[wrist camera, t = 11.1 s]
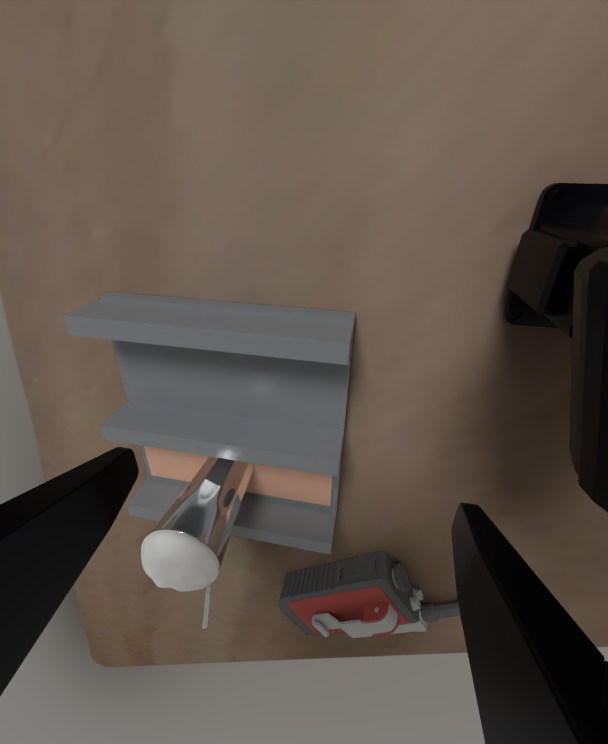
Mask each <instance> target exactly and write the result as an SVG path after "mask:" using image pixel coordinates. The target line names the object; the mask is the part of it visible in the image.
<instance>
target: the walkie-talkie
mask: <svg viewBox="0 0 608 744" xmlns="http://www.w3.org/2000/svg"><path fill="white" fill-rule="evenodd" d="M420 600H423V594H422V591H421V590H420V589H414V587H413V586H412V585H411V584H410V582H409V577H408V574H407V571H406V569H405V567H404V566H403V565H402V564H401V563H396V564H395V563H394V562H393V561H392V559H391V558H390V557H389V556H388V554H387V553H385V552H376V553H372V554H367V555H363V556H358V557H354V558H350V559H345V560H341V561H338V562H333V563H331V564H330V563H328V564H327V565H325V564H323V565H322V566H320V565H319V566H318V567H315V566H314V567H313V568H308V569H304V570H299V571H295V572H290V573H287V574H286V577H285V581H284V585H283V589H282V593H281V597H280V601H279V607H280V609H281V610H282V612H283V613H284V614H285V615H286V616H287V617H288V618H289V619H290V620H291V621H293V622H294V623H295V624H296V625H297V626H298V627H299V628H300V629H301V630H302V631H303V632H304V633H305V634H306V635H323V636H324V637H328V636H329V634H332V633H340V632H346V633H347V634H348V635H349V636H351V637H352V638H361V637H369V636H372V634H376V635H388V634H396V633H405V632H413V631H417V632H425V631H427V630H428V627H427V622H431V621H437V620H438V618H444V617H452V616H460V610H459V605H458V601H455V602H448V603H441V604H435V605H434V604H433V603H428V604H421V603H420Z"/></svg>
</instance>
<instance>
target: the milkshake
mask: <svg viewBox="0 0 608 744" xmlns="http://www.w3.org/2000/svg"><path fill="white" fill-rule="evenodd" d="M252 470H253V463H248V462H242V461H236V460H230V459H223V458H217V457H211V456H209V458H208V459H207V460H206V462H205V463H204V464H203V466H202V467H201V468H200V470H199V471H198V472H197V474H196V475H195V476H194V478H193V479H192V480H191V482H190V483H189V484H188V486H187V487H186V488H185V490H184V491H183V492H182V493H181V495H180V496H179V497H178V498H177V500H176V501H175V502H174V503H173V504H172V506H171V507H170V508H169V509H168V510H167V512H166V513H165V514H164V515H163V517H162V518H161V519H160V520H159V522H158V523H157V524H156V525H155V527H154V528H153V529H152V530H151V532H150V533H149V534H148V535H147V537H146V538H145V539H144V541H143V543H142V546H141V559H142V565H143V568H144V570H145V572H146V574H147V575H148V576H149V577H151V578H152V580H153V581H154V583H155V584H156V585H157V586H158V587H160V588H173V589H175V590H178V591H181V592H187V591H192V590H199V589H202V588H205V587H206V594H205V605H204V615H203V626H202V629H205V628H207V627H208V618H209V606H210V595H211V583H212V582H214V581H215V579H216V578H217V576H218V574H219V570H220V567H221V564H222V560H223V557H224V554H225V551H226V548H227V544H228V541H229V538H230V535H231V532H232V528H233V525H234V522H235V520H236V517H237V514H238V511H239V508H240V505H241V502H242V499H243V496H244V494H245V491H246V488H247V485H248V482H249V479H250V476H251V473H252Z"/></svg>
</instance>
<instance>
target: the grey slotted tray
mask: <svg viewBox="0 0 608 744" xmlns="http://www.w3.org/2000/svg"><path fill="white" fill-rule="evenodd" d="M99 297H100V300H98V301H96V302H93V303H91V304H88V305H86V306H84V307H81V308H79V309H77V310H74V311H72V312H70V313H67V314H65V315H63V318H64V321H65V324H66V327H67V330H68V333H69V335H71V336H81V337H90V338H99V339H109V340H111V341H112V344H113V348H114V352H115V355H116V359H117V363H118V366H119V370H120V374H121V377H122V381H123V384H124V388H125V392H126V395H127V399H128V401H127V402H126V403H125V404H124V405H123V406H122V407H120V408H119V409H118V410H117V411H116V412H115V413H114V414H112V415H111V416H110V417H109V418H108V419H107V420H105V421H104V422H103V423H102V424H101V425H100V428H101V431H102V434H103V437H104V440H110V441H117V442H123V443H129V444H135V445H140V446H141V450H142V454H143V457H144V461H145V465H146V468H147V472H148V476H149V477H148V478H147V479H146V481H145V482H144V483H143V484H142V486H141V487H140V488H139V490H138V491H137V492H136V493H135V495H134V496H133V497H132V498H131V500H130V501H129V502H128V503H127V508H128V511H129V514H130V515H131V516H136V517H141V518H146V519H151V520H156V521H159V520H160V519H161V518H162V517H163V515H164V514H165V513H166V512H167V510H168V509H169V508H170V507H171V506H172V504H173V503H174V502H175V501H176V500H177V498H178V497H179V496H180V495H181V493H182V492H183V491H184V490H185V488H186V487H187V486H188V484H189V483H190V482H191V480H192V479H193V478H194V476H195V475H196V474H197V472H198V471H199V470H200V468H201V467H202V466H203V464H204V463H205V462H206V460H207V459H208V458H209V456H211V457H217V458H223V459H230V460H236V461H242V462H248V463H253V470H252V473H251V476H250V479H249V482H248V485H247V488H246V491H245V494H244V496H243V499H242V502H241V505H240V508H239V511H238V514H237V517H236V520H235V522H234V525H233V528H232V532H231V535H232V536H238V537H243V538H248V539H253V540H258V541H263V542H268V543H273V544H278V545H283V546H288V547H294V548H299V549H304V550H309V551H314V552H319V553H324V554H329V555H331V549H332V542H333V535H334V528H335V521H336V514H337V504H338V494H339V483H340V473H341V462H342V452H343V441H344V431H345V420H346V410H347V399H348V389H349V378H350V368H351V357H352V346H353V336H354V325H355V315H356V312H347V311H334V310H322V309H310V308H298V307H286V306H274V305H261V304H249V303H237V302H225V301H213V300H201V299H189V298H176V297H164V296H152V295H140V294H128V293H116V292H109V293H107V294H104V295H102V296H99Z"/></svg>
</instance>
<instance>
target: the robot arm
mask: <svg viewBox="0 0 608 744" xmlns="http://www.w3.org/2000/svg"><path fill="white" fill-rule="evenodd" d="M555 190H558V192H559V197H558V198H557V200H555V201H554V202H551V200H550V195H551V193H552V192H553V191H555ZM507 286H508V287H509V289H510V290H511V291H510V295H509V298H508V301H507V304H506V307H505V311H504V317H505V319H506V320H507V321H508V322H509V323H510V324H514V325H527V326H539V327H551V328H560V329H561V330H562V331H563V332H565V333H566V334H567V335H568V336H569V337H570V338H572V373H571V410H570V448H569V451H570V454H571V458H572V462H573V465H574V469H575V471H576V473H577V474H578V483H579V485H580V487H581V488H582V489H583V490H584V491H585V492H586V493H587V495H588V496H589V497H590V498H591V499H592V500H593V501H594V502H595V503H596V504H597V505H599V506H600V507H601V508H603V509H604V510H605V511H607V512H608V184H577V183H554V184H551V185H549V186H547V187H546V188H545V189H544V190H543V191H542V193H541V195H540V198H539V202H538V205H537V208H536V211H535V215H534V218H533V221H532V224H531V227H530V229H529V230H527V231H526V232H525V233H523V234H522V237H521V240H520V244H519V247H518V250H517V253H516V257H515V260H514V263H513V267H512V270H511V273H510V276H509V280H508V283H507ZM515 311H520V313H519V315H518V316H517V317H511V315H512V313H513V312H515ZM138 473H139V469H138V465H137V461H136V458H135V455H134V452H133V450H132V449H129V448H123V447H117V448H114V449H112V450H110V451H108V452H106V453H104V454H102V455H100V456H98V457H96V458H94V459H92V460H90V461H88V462H86V463H84V464H82V465H80V466H78V467H76V468H74V469H72V470H70V471H67V472H65V473H63V474H61V475H59V476H57V477H55V478H53V479H51V480H49V481H47V482H45V483H43V484H41V485H39V486H37V487H35V488H33V489H31V490H29V491H27V492H25V493H23V494H21V495H19V496H17V497H15V498H12V499H10V500H9V501H6V502H5V503H2V504H0V696H1V694H2V693H3V691H4V690H5V688H6V687H7V685H8V683H9V682H10V681H11V679H12V678H13V676H14V675H15V673H16V671H17V670H18V668H19V667H20V665H21V664H22V662H23V661H24V659H25V658H26V656H27V655H28V653H29V652H30V650H31V649H32V647H33V646H34V644H35V643H36V641H37V639H38V638H39V636H40V635H41V633H42V632H43V630H44V629H45V627H46V626H47V624H48V623H49V621H50V620H51V618H52V617H53V615H54V613H55V612H56V610H57V609H58V607H59V605H60V604H61V603H62V601H63V600H64V598H65V597H66V595H67V594H68V592H69V591H70V589H71V588H72V586H73V585H74V583H75V581H76V580H77V578H78V577H79V575H80V574H81V572H82V571H83V569H84V568H85V566H86V565H87V563H88V562H89V560H90V559H91V557H92V555H93V554H94V552H95V551H96V549H97V548H98V546H99V545H100V543H101V542H102V540H103V539H104V537H105V536H106V534H107V532H108V531H109V529H110V528H111V526H112V524H113V522H114V521H115V519H116V517H117V515H118V513H119V511H120V510H121V508H122V506H123V504H124V502H125V500H126V498H127V496H128V494H129V493H130V491H131V489H132V487H133V485H134V483H135V481H136V479H137V477H138ZM452 542H453V555H454V567H455V579H456V590H457V599H458V605H459V610H460V615H461V621H462V626H463V631H464V636H465V641H466V646H467V652H468V657H469V662H470V667H471V672H472V677H473V682H474V688H475V692H476V698H477V703H478V708H479V714H480V719H481V723H482V729H483V734H484V739H485V744H608V662H607V661H604V656H603V655H602V654H601V653H600V652H599V650H598V649H597V648H596V647H595V645H594V644H593V643H592V642H591V641H590V639H589V638H588V637H587V636H586V634H585V633H584V632H583V631H582V630H581V628H580V627H579V626H578V625H577V624H576V622H575V621H574V620H573V619H572V618H571V616H570V615H569V614H568V613H567V612H566V610H565V609H564V608H563V607H562V605H561V604H560V603H559V602H558V601H557V599H556V598H555V597H554V596H553V595H552V593H551V592H550V591H549V590H548V589H547V587H546V586H545V585H544V584H543V582H542V581H541V580H540V579H539V578H538V576H537V575H536V574H535V573H534V572H533V570H532V569H531V568H530V567H529V566H528V564H527V563H526V562H525V561H524V560H523V558H522V557H521V556H520V555H519V553H518V552H517V551H516V550H515V549H514V547H513V546H512V545H511V544H510V543H509V541H508V540H507V539H506V538H505V537H504V535H503V534H502V533H501V532H500V531H499V529H498V528H497V527H496V526H495V524H494V523H493V522H492V521H491V520H490V518H489V517H488V516H487V515H486V514H485V512H484V511H483V510H482V509H481V508H480V507H479V506H478V505H475V504H469V503H460V505H459V506H458V509H457V512H456V515H455V518H454V521H453V524H452Z"/></svg>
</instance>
